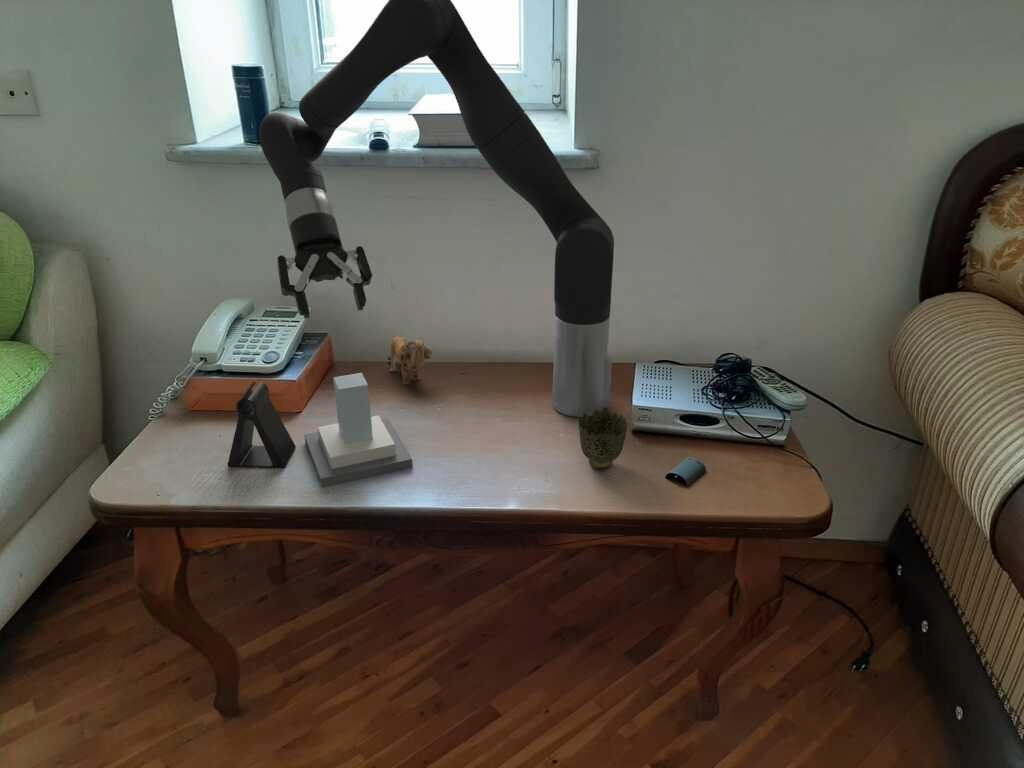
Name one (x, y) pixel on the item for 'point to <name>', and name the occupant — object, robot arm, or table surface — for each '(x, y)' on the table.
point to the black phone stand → (270, 429)
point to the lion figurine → (408, 356)
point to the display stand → (356, 453)
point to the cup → (602, 437)
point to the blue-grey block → (353, 408)
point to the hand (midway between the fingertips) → (334, 312)
